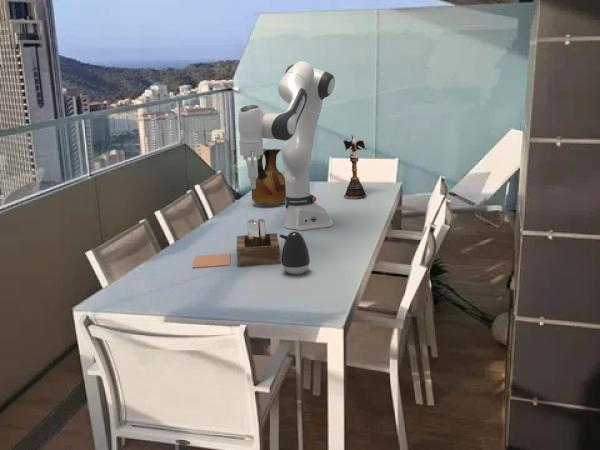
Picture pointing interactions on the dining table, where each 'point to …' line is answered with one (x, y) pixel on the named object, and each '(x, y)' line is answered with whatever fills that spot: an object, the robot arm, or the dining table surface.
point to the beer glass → (256, 232)
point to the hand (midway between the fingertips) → (253, 186)
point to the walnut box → (258, 251)
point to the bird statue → (354, 170)
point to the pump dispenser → (295, 254)
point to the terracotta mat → (212, 260)
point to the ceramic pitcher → (269, 180)
